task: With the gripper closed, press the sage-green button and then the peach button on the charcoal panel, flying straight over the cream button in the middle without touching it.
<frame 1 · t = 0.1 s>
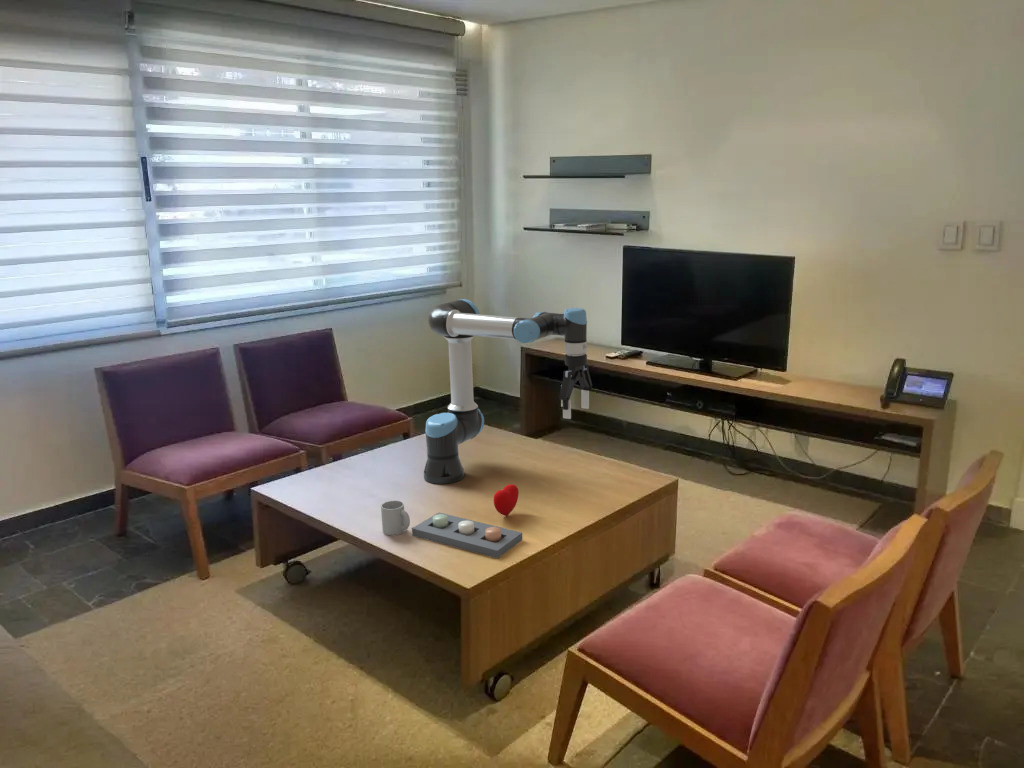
hand: (576, 413, 277), 28 cm above the table, fingers open, 13 cm apart
cup: (397, 532, 253), on the table
cream button: (466, 528, 246), point 3 cm above the table, slide at 0.0 cm
peach button: (493, 534, 241), point 3 cm above the table, slide at 0.0 cm
panel: (466, 537, 247), on the table
heart: (506, 516, 263), on the table
sage button: (440, 521, 252), point 3 cm above the table, slide at 0.0 cm
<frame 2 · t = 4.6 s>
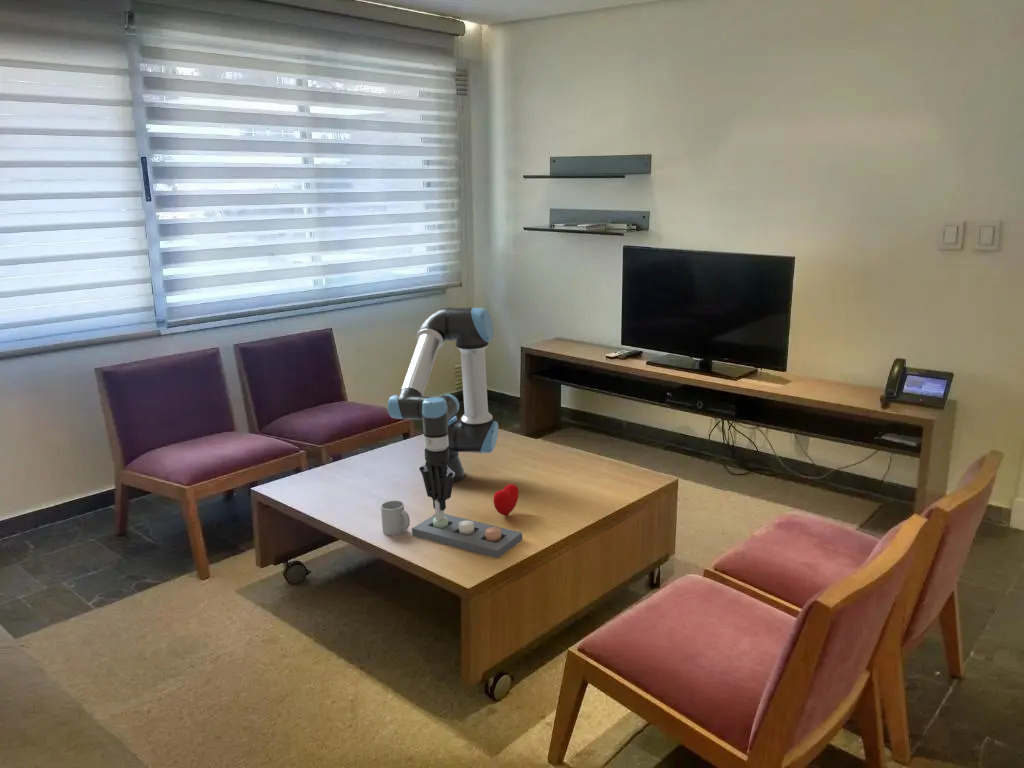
hand: (440, 518, 251), 4 cm above the table, fingers closed
sage button: (440, 523, 252), point 3 cm above the table, slide at 0.7 cm, touching gripper
everything else where it was.
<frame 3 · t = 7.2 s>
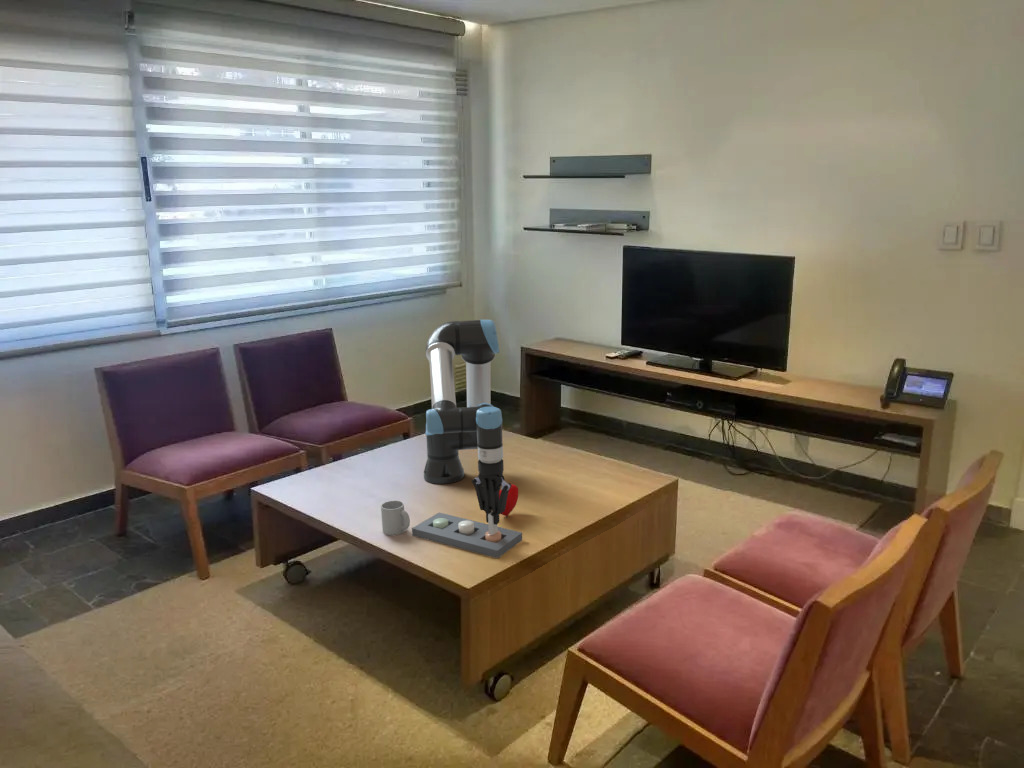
hand: (493, 533, 241), 4 cm above the table, fingers closed
peach button: (493, 538, 241), point 2 cm above the table, slide at 1.1 cm
sage button: (440, 525, 252), point 2 cm above the table, slide at 1.3 cm
everything else where it was.
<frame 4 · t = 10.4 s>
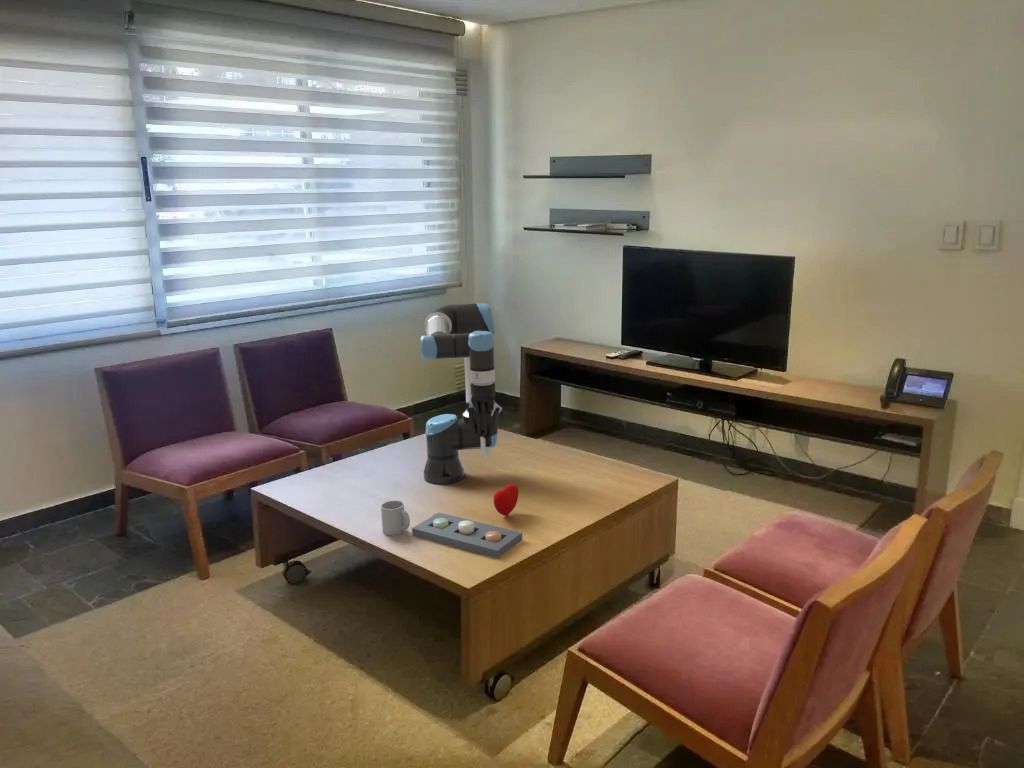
hand: (485, 455, 247), 24 cm above the table, fingers closed
nothing on the table moved.
at the end: sage button slide at 1.3 cm; peach button slide at 1.3 cm; cream button slide at 0.0 cm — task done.
